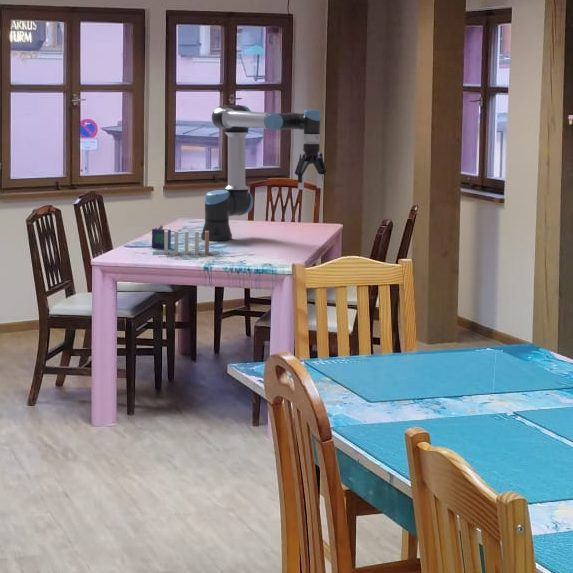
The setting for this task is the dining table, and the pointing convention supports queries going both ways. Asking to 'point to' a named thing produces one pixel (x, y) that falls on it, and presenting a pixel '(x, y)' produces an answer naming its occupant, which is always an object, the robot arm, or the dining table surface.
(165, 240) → the domino
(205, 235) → the domino
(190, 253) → the mat
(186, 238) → the domino
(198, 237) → the domino
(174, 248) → the domino
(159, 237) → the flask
